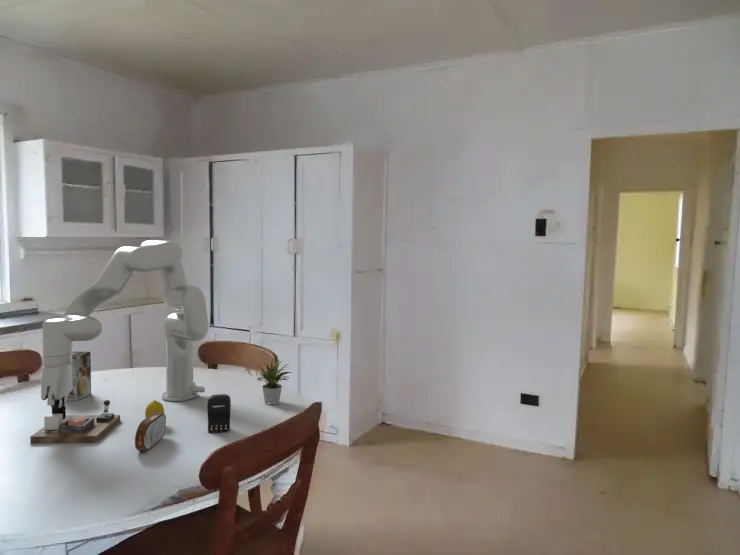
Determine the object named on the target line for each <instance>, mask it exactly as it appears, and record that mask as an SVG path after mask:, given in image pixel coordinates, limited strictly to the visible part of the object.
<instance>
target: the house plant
mask: <svg viewBox="0 0 740 555" xmlns="http://www.w3.org/2000/svg"><path fill="white" fill-rule="evenodd" d="M273 362H274V359H273V358H272V359H271V363H270V366H269V365H268V364H267V363H266V362H264V363H263V365H265V367H266V370H265V368H264V367H263V366H262V365H261V364H259V365H256V368H257V367H258V368H259V370H261V373H260V375H262V376H263V377H264V378H265V379H263V378H262V377H258V378H256V381H258V382H261V381H262V382H265V384H263V385H262V386H261V387H262V393H263V400H264V404H265V403H270V404H274V403H278V402H279V403H280V401H281V400H280V399H281V393H282V388H283V386H282V384H280V383H279V382H280V381H282V380H283V381H284V380H285V381H288V379H290V377H289V376H284V375H287V374H290V373H291V374H292V373H293V371H285V369H286V368H289V367H286V366H287V365H289V363H287V364H284V365H283V366H282V367H281V368H280V369H278V367H279V365H280V364H281V362H282V361H280V359H279V360H277V361H276V362H275V364H273ZM283 371H284V372H283ZM290 380H291V379H290ZM279 403H278V404H279Z"/></svg>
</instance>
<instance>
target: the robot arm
mask: <svg viewBox="0 0 740 555" xmlns="http://www.w3.org/2000/svg"><path fill="white" fill-rule="evenodd" d="M183 251H184V250H183V248H182V246H181V245H180V244H179V242H176V241H174V240H166V239H165V240H162V239H149V240H144V241H143V242H142V243H141V244H140V245H139V246H121V247H119V248H118V249H116V250H115V252H113V255H112V256H111V257H110V259H109V260H108V261H107V264H106V265H105V266H104V268H103V269H102V271H101V273H100V274H99V276H98V277H97V279H96V280H95V281H94V282H93V283H92V284H90V285H89V286H88V287H87V288H86V289H84V290H83V291H82V292H80V293H79V294H78V296H76V297H75V298H74V299H73V300H72V301H71V303H70V304H69V306H68V307H67V309H66V310H65V312H64V313H63V315H62V317H60V318H59V317H58V318H48V319H45V320H44V321H43V322H42V366H43V368H42V372H41V373H42V374H41V383H40V384H41V387H40V399H41V400H42V401H45V400H46V401H47V403H46V405H47V406H50V408H51V414H63V420H64V419H65V418H66V415H67V412H66V411H67V410H66V407H67V406H66V405H67V400H66V398H67V396H68V395H69V393H70V392H71V391H72V387H73V379H72V367H71V364H72V352H73V342H86V341H87V342H89V341H92V340H95V339H97V338H98V337H99V336H100V335H101V333H102V331H103V326H102V323H101V322H100V320H98V319H97V318H95V317H93V316H91V315H92V313H93V312H94V311H95V310H96V309H97V308H98V307H100V306H102V305H103V304H105V303H108V302H110V301H113V300H115V299H117V298H118V297H120V296H121V295H122V293H123V292H124V290H125V288H126V287H127V285H128V284H129V282H130V281H131V279H132V277H133V276H134V274H135V273H137V274H138V273H139V274H145V273H150V272H154V271H157V272H158V274H159V277H160V284H161V291H162V295H163V296H162V298H163V303H164V305H165V306H166V307H167V308H168V309H170V310H174V311H175V312H172V313H170V314H168V315H167V316H166V318H164V321H163V327H162V328H163V333H164V334H163V335H164V339H165V347H166V348H165V351H166V353H165V354H166V357H165V358H166V359H165V360H166V364H165V365H166V366H165V367H166V371H165V372H166V373H165V377H166V378H165V380H166V381H165V383H166V386H165V387H166V390H165V391H164V392H162V394H161V398H162V399H163V400H165V401H169V402H182V401H183V402H184V401H190V400H192V398H193V399H195V398H197V397H198V395H199V393H202V394H203V393H205V392H206V387H205V386H203V385H199V386H197V384H196V382H194V353H195V352H194V350H195V349H194V346H193V342H198V341H202V340H204V338H205V337H206V336H207V334H208V331H209V317H208V308H207V301H206V296H205V295H204V292H203V290H202V289H201V288H199V287H198V286H195V285H191V284H190V285H189V284H188V283H187V278H186V272H185V269H184V266H183V264H182V262H181V260H182V258H183V255H184V254H183V253H184V252H183ZM196 396H197V397H196ZM194 397H195V398H194ZM189 399H190V400H189Z"/></svg>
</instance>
